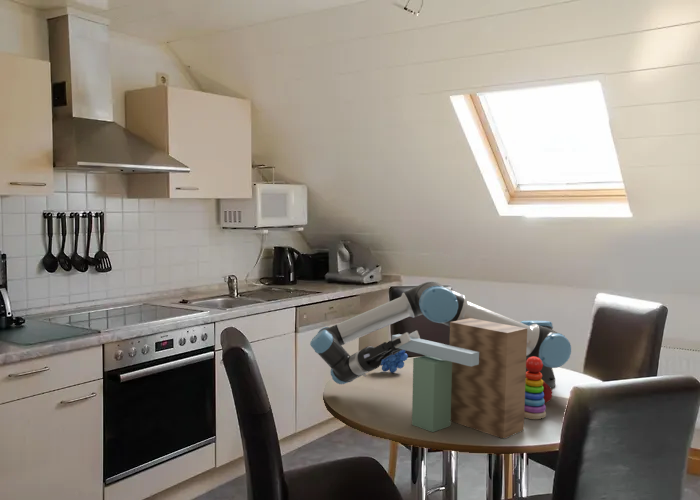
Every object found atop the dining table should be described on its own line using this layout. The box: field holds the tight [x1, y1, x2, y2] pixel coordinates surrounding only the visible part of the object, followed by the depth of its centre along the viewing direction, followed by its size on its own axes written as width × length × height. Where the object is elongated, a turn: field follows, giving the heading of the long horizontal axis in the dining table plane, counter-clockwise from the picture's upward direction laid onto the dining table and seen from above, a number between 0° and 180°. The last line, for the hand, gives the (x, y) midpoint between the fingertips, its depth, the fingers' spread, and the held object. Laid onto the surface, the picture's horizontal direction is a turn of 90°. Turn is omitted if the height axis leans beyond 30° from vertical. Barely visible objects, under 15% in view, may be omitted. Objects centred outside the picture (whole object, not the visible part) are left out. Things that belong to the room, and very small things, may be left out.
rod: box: [391, 333, 479, 366], centre depth 188 cm, size 30×4×4 cm, turn 43°
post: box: [411, 355, 452, 433], centre depth 189 cm, size 8×8×20 cm
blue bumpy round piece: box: [379, 350, 409, 374], centre depth 247 cm, size 12×7×12 cm, turn 81°
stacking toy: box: [524, 356, 547, 420], centre depth 198 cm, size 8×8×19 cm
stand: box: [448, 318, 527, 439], centre depth 189 cm, size 20×10×30 cm, turn 43°
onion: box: [542, 381, 553, 404], centre depth 210 cm, size 6×6×8 cm
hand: (413, 335), depth 193 cm, fingers closed on rod, 3 cm apart
